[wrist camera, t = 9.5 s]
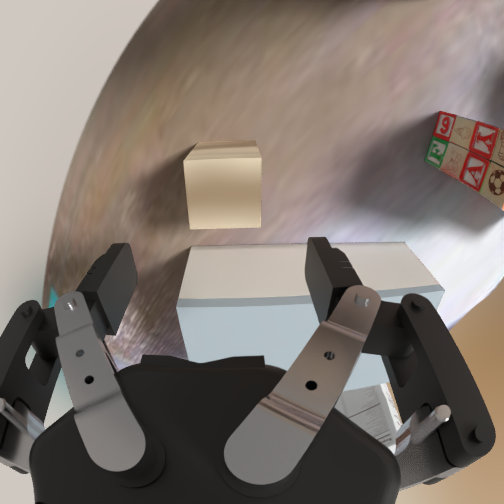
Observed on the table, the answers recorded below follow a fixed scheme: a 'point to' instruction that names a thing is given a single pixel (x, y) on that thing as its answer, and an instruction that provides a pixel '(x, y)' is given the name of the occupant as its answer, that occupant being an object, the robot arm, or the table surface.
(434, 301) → the box lid
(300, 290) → the storage box
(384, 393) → the supplement box
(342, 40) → the table surface
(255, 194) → the beech block
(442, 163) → the stack of blocks
